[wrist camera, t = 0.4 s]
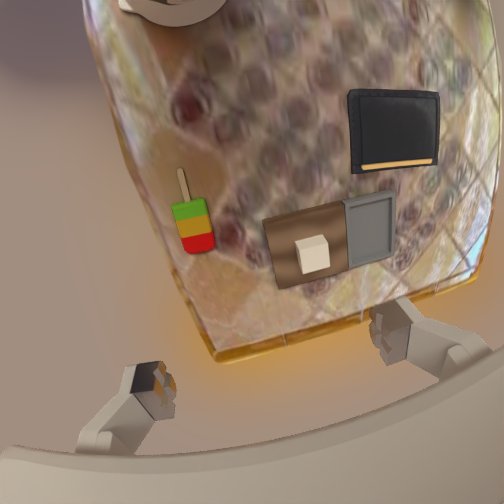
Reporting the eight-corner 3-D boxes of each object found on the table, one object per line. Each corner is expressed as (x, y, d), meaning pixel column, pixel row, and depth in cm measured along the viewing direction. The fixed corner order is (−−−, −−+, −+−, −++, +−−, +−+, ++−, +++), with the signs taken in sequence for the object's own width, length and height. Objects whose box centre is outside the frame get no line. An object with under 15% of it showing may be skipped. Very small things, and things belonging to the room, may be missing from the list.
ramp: (262, 219, 52) (264, 225, 50) (339, 200, 52) (344, 205, 50) (276, 283, 59) (278, 289, 58) (344, 264, 59) (348, 270, 57)
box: (341, 200, 52) (344, 203, 50) (391, 188, 52) (395, 192, 50) (345, 264, 59) (348, 268, 58) (390, 251, 59) (394, 255, 58)
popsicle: (186, 250, 54) (185, 256, 52) (163, 170, 46) (161, 174, 44) (216, 244, 54) (216, 250, 52) (196, 162, 46) (196, 166, 44)
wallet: (444, 93, 41) (440, 170, 49) (438, 92, 43) (435, 166, 51) (349, 86, 40) (352, 176, 48) (344, 85, 42) (347, 173, 50)
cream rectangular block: (294, 241, 52) (299, 250, 50) (322, 234, 52) (327, 242, 50) (298, 264, 55) (303, 274, 53) (324, 257, 55) (330, 266, 53)
